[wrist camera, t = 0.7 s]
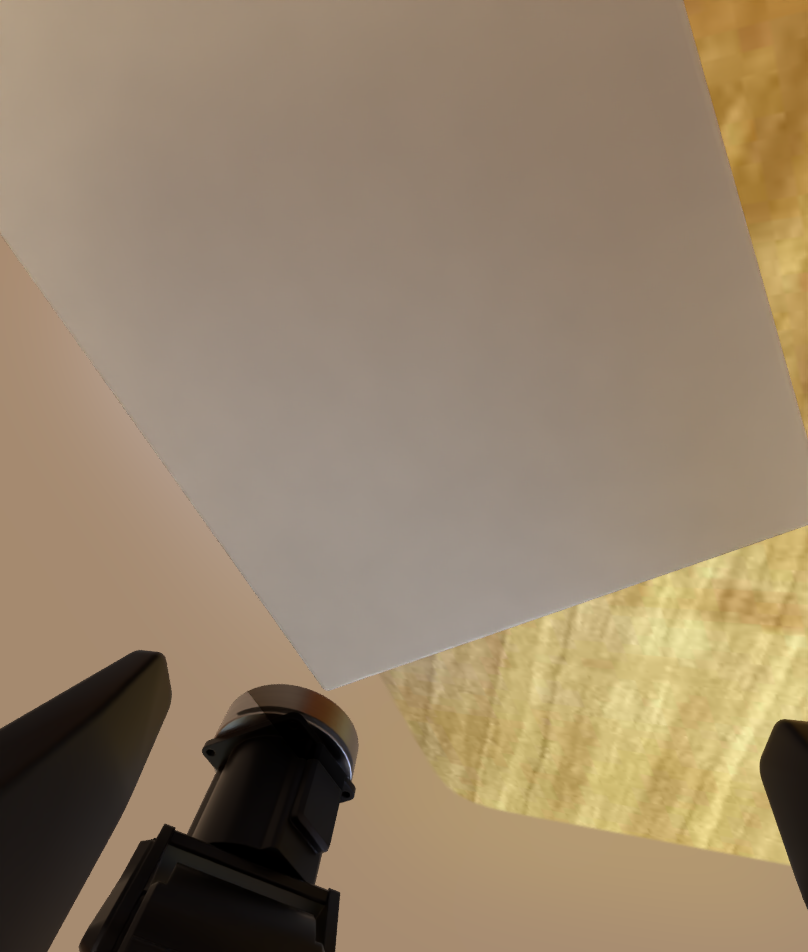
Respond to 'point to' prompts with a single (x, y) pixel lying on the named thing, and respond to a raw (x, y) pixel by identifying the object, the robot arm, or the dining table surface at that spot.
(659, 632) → the dining table surface
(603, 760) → the dining table surface
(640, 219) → the cream block
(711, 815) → the dining table surface
